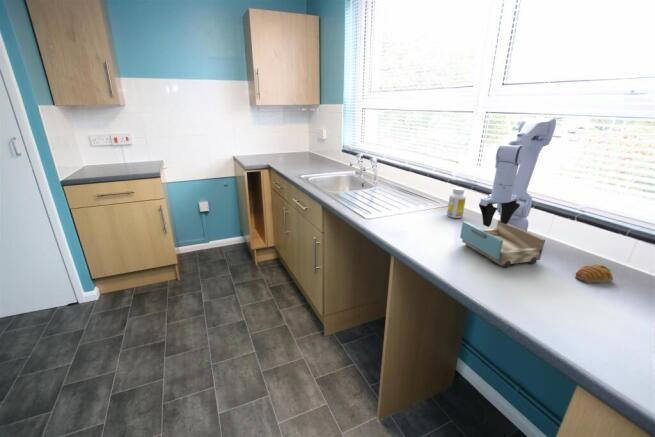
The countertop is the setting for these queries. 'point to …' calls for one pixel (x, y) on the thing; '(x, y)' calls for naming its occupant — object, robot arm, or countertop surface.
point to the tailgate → (481, 239)
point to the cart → (514, 245)
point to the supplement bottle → (456, 203)
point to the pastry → (594, 274)
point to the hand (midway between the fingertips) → (495, 224)
